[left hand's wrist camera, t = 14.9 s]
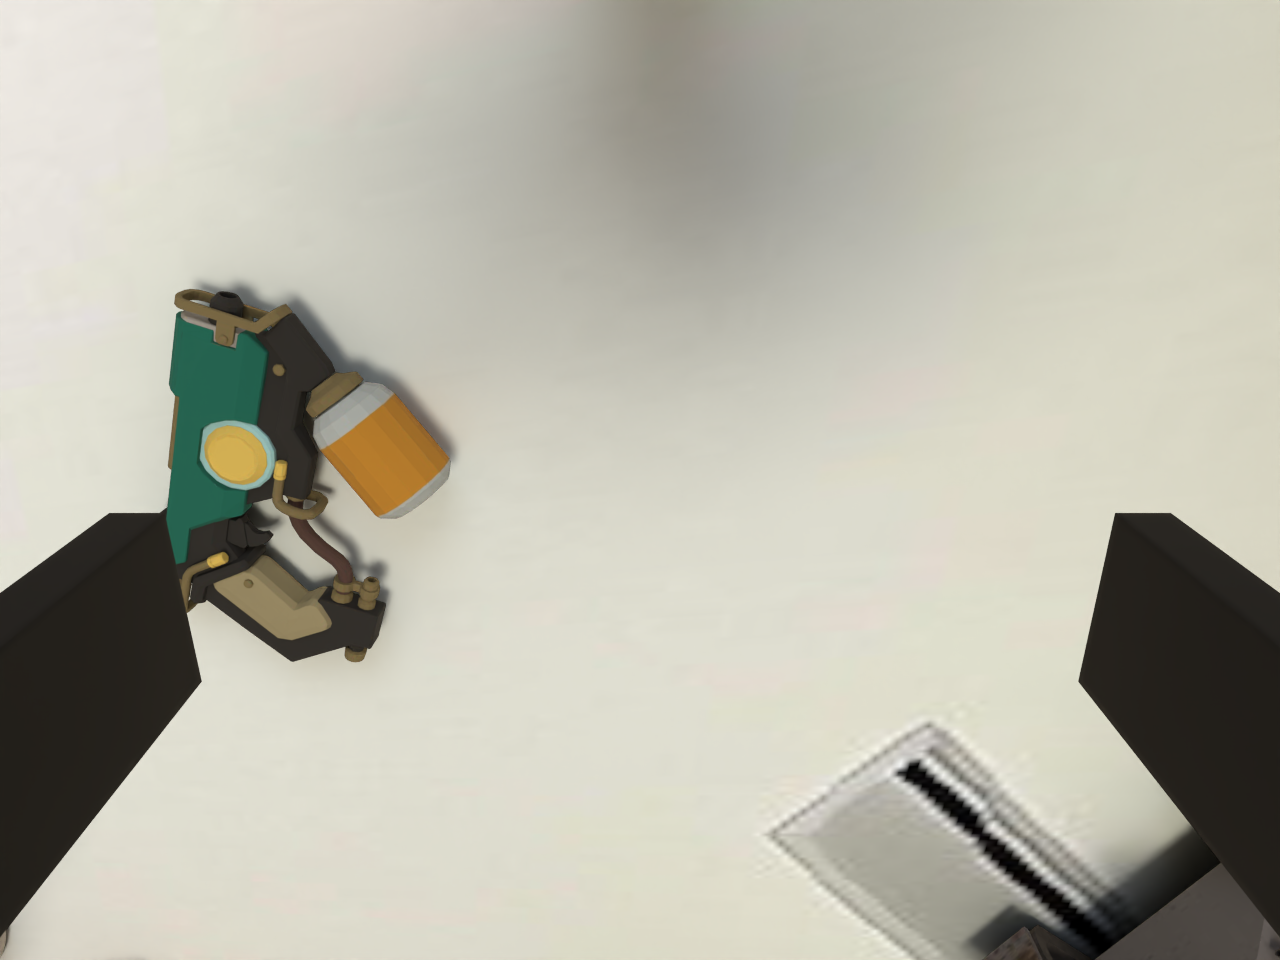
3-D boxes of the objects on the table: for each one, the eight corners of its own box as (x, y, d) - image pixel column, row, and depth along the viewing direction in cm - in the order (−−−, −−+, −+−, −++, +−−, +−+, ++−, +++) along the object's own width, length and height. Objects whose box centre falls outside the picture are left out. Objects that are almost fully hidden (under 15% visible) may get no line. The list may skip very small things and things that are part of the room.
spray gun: (357, 665, 48) (98, 520, 45) (512, 428, 42) (222, 245, 39) (327, 716, 44) (41, 561, 41) (493, 463, 38) (169, 262, 35)
